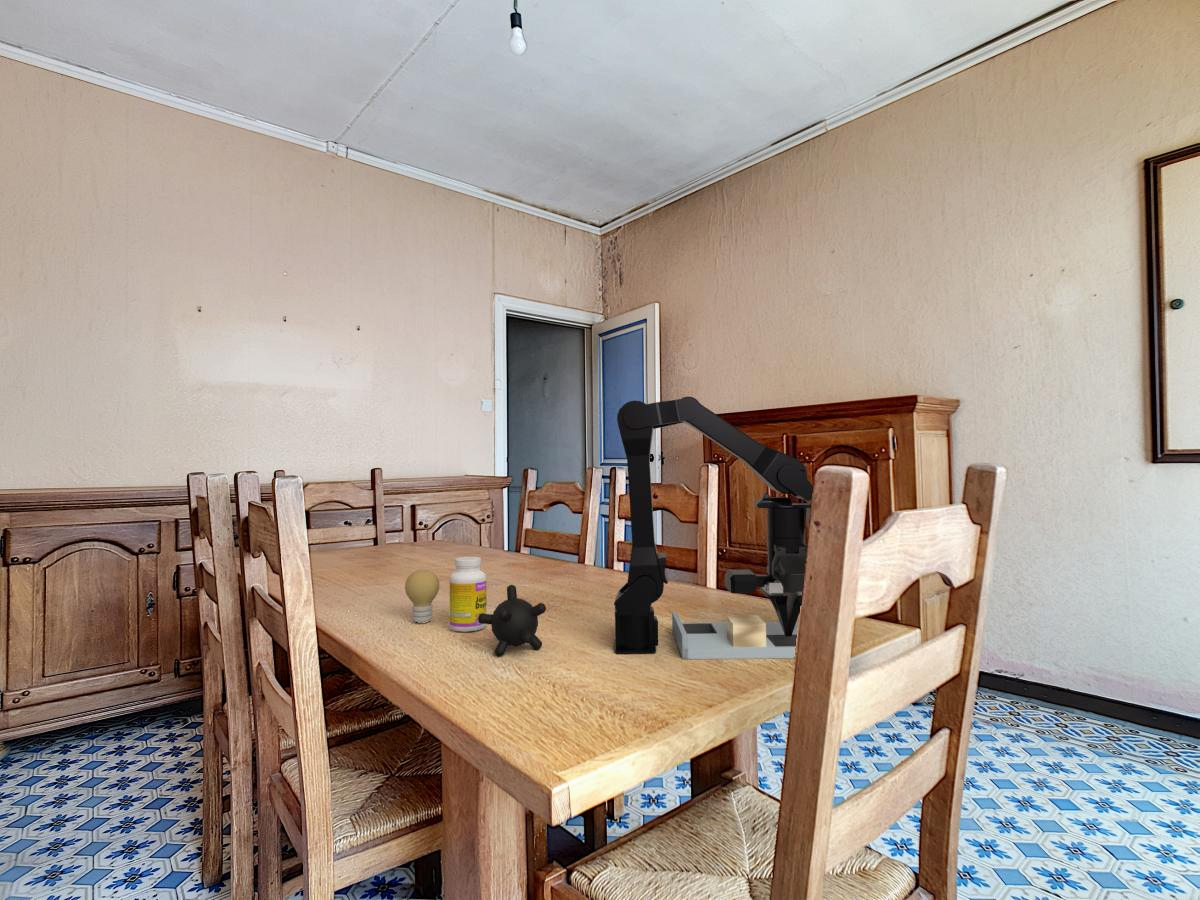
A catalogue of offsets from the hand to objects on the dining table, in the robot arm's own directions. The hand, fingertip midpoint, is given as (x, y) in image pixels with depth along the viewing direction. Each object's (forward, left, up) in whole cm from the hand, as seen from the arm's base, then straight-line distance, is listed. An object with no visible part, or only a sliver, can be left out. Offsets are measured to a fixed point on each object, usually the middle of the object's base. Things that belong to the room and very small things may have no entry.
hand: (787, 635), depth 95 cm
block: (-7, -1, -1) cm, 7 cm away
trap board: (-5, +4, -2) cm, 7 cm away
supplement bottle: (-54, +15, -3) cm, 56 cm away
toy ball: (-43, +2, -3) cm, 43 cm away
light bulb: (-64, +20, -3) cm, 67 cm away
